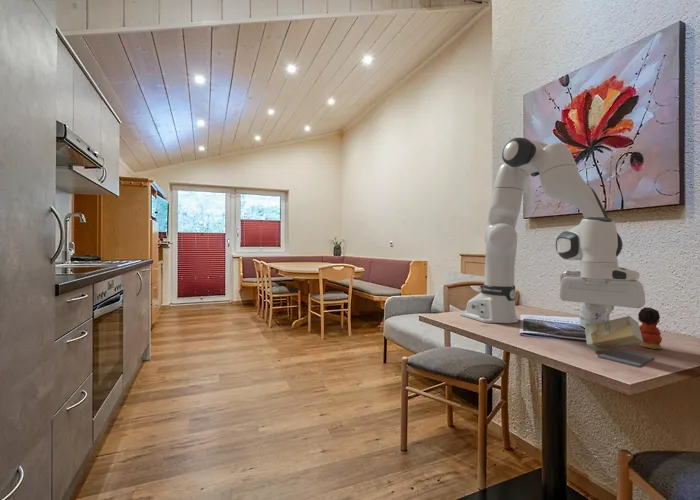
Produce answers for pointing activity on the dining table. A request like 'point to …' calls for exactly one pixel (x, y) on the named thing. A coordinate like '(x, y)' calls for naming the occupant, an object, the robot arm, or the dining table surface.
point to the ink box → (585, 314)
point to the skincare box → (613, 333)
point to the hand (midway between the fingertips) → (599, 319)
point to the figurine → (649, 328)
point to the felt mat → (626, 357)
